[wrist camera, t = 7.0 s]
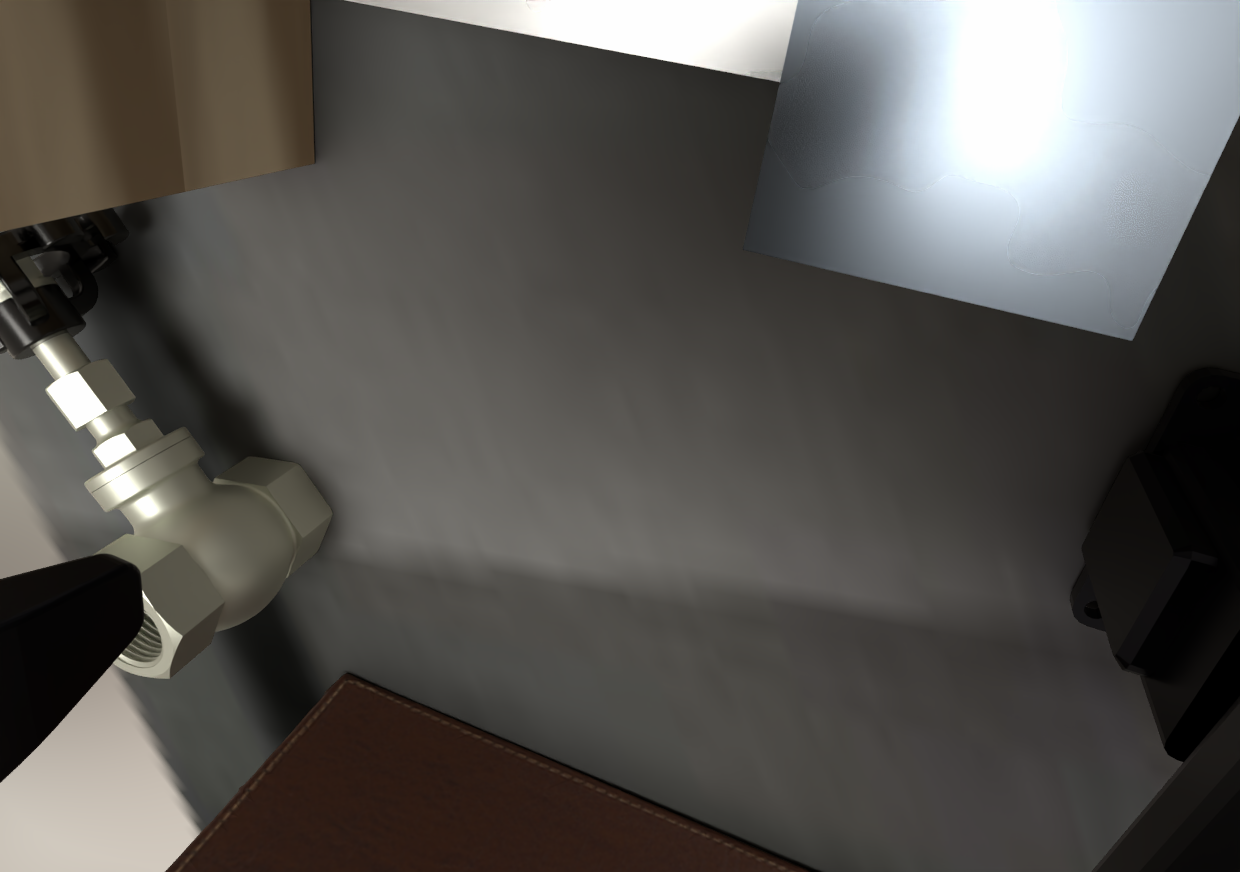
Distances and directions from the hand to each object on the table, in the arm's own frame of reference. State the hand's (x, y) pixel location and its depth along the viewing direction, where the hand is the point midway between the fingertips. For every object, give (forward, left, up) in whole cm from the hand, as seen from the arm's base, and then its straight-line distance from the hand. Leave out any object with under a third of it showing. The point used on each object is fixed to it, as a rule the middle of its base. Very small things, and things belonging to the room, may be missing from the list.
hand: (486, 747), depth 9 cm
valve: (+16, +6, -13) cm, 22 cm away
